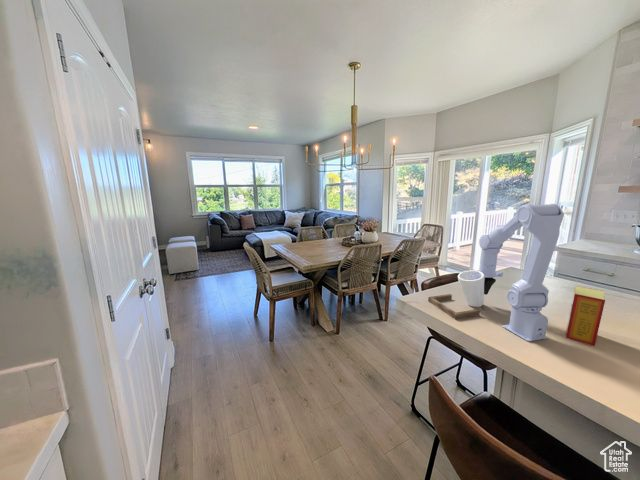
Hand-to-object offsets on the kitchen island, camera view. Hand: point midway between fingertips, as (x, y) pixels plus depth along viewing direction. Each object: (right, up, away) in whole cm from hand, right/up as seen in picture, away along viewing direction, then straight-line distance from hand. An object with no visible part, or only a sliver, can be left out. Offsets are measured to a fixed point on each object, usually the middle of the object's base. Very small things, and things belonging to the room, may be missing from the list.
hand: (484, 293), depth 108 cm
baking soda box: (+17, -9, -23) cm, 30 cm away
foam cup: (-4, -4, 0) cm, 6 cm away
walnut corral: (-14, -5, -2) cm, 15 cm away
